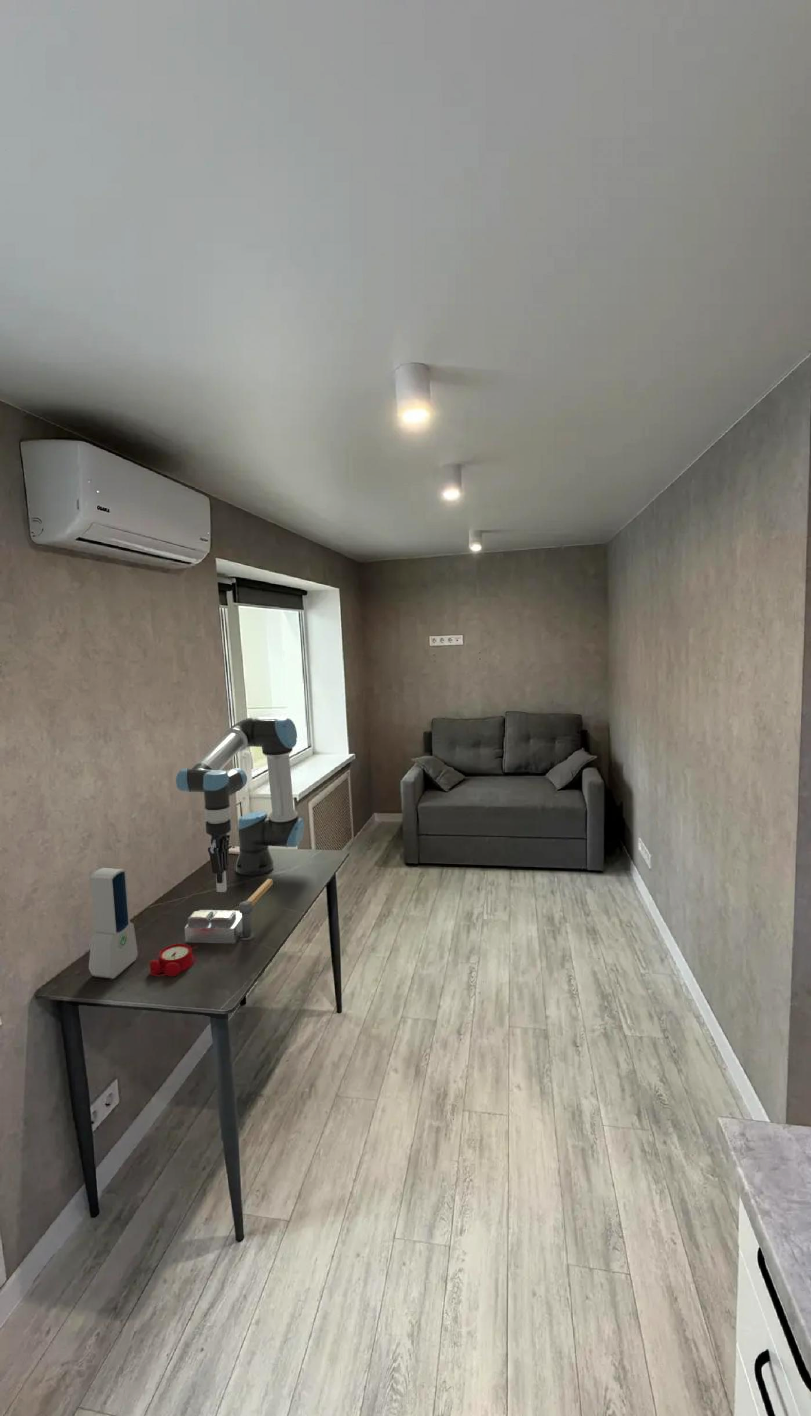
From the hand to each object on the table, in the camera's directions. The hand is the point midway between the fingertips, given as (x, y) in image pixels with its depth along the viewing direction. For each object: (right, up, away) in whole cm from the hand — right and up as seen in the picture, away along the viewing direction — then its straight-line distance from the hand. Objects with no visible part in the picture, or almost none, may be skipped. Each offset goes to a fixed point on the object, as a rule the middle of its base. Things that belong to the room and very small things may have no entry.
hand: (221, 891), depth 194 cm
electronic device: (-27, -18, -16) cm, 36 cm away
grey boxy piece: (0, -15, +4) cm, 15 cm away
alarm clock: (-10, -18, -15) cm, 26 cm away
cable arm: (+9, -14, +10) cm, 19 cm away
